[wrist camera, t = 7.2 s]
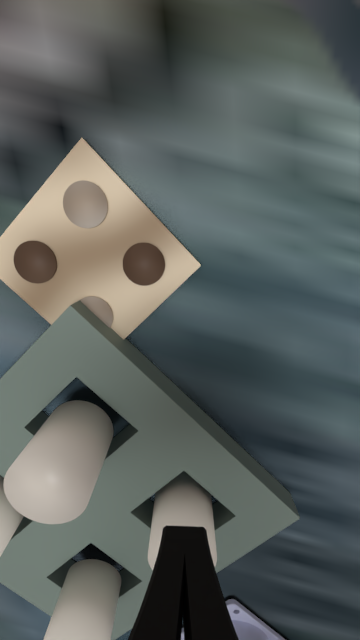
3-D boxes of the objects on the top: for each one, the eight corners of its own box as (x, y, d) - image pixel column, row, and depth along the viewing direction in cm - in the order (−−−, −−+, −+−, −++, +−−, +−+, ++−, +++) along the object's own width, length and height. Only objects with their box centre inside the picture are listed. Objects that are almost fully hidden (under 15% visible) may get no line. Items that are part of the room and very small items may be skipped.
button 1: (132, 580, 21) (118, 669, 17) (96, 606, 22) (74, 696, 18) (91, 550, 20) (65, 634, 16) (55, 577, 21) (22, 664, 17)
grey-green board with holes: (289, 492, 21) (300, 518, 19) (107, 617, 25) (100, 649, 23) (82, 298, 18) (70, 305, 16) (-92, 480, 22) (-119, 503, 20)
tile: (200, 264, 17) (201, 265, 16) (98, 362, 19) (95, 366, 18) (84, 140, 15) (80, 136, 15) (-15, 260, 17) (-22, 261, 16)
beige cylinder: (222, 493, 21) (231, 560, 17) (182, 522, 22) (181, 593, 17) (184, 459, 20) (183, 520, 16) (144, 491, 21) (133, 556, 17)
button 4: (126, 430, 18) (107, 492, 13) (84, 467, 18) (52, 537, 14) (77, 387, 17) (39, 438, 13) (35, 427, 18) (-14, 488, 13)
